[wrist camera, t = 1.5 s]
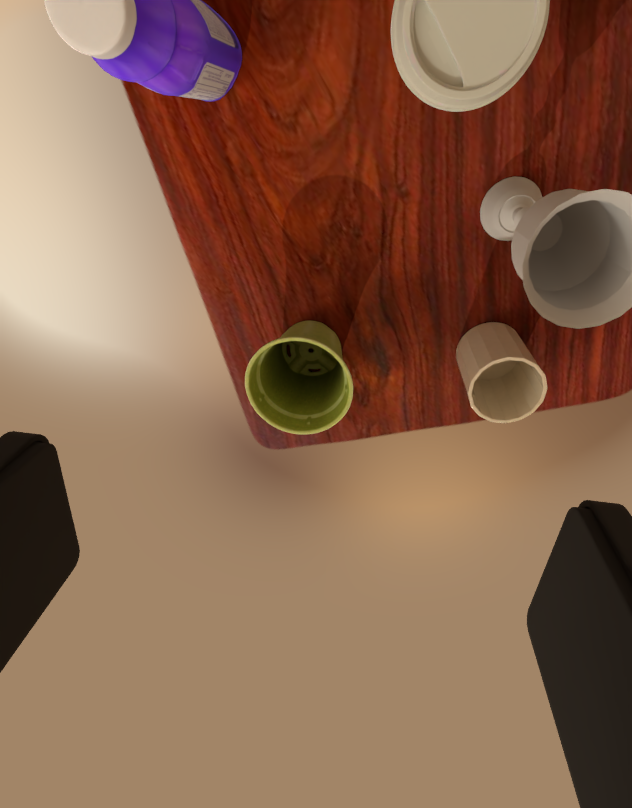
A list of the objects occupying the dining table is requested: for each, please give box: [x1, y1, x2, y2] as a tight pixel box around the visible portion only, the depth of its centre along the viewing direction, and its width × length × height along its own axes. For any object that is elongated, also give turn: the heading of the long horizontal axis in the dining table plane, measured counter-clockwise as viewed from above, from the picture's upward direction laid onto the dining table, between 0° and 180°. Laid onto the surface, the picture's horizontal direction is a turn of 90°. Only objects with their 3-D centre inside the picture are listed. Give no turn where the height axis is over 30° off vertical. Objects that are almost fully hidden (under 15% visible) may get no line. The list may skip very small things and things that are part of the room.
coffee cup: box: [391, 0, 550, 112], centre depth 31 cm, size 8×8×12 cm
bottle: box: [44, 0, 242, 101], centre depth 31 cm, size 7×6×17 cm
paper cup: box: [456, 322, 547, 423], centre depth 44 cm, size 6×6×8 cm
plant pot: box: [245, 321, 353, 434], centre depth 46 cm, size 9×9×9 cm
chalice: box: [480, 176, 632, 329], centre depth 34 cm, size 7×7×18 cm
